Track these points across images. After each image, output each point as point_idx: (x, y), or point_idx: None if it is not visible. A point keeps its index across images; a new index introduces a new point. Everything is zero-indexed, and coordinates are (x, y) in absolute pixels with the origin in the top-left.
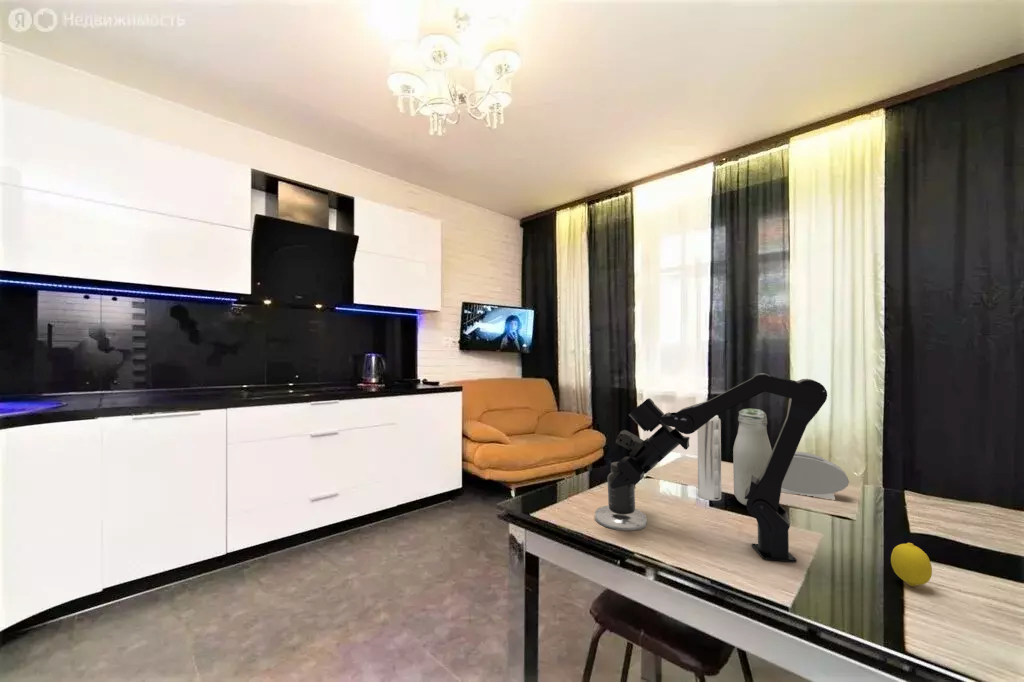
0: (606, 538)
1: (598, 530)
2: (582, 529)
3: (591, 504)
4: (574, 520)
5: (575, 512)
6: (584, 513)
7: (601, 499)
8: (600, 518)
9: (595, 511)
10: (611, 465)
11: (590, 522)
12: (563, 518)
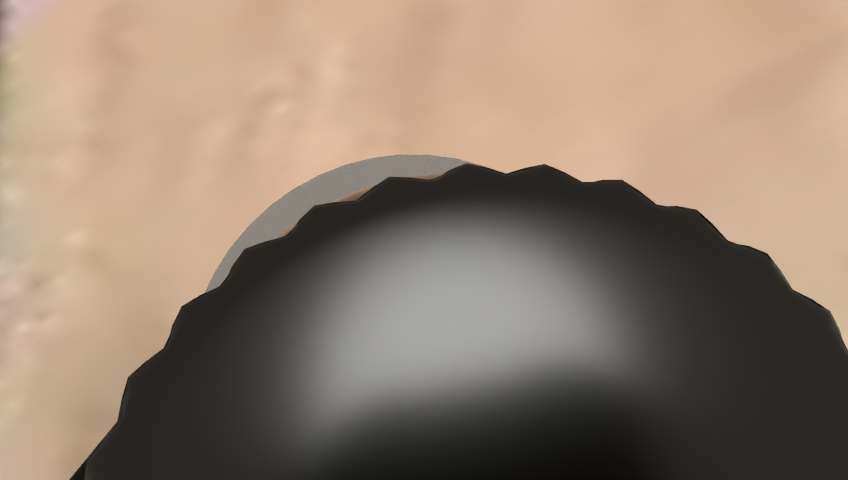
0: (9, 469)
1: (109, 341)
2: (42, 238)
3: (542, 29)
4: (157, 102)
5: (305, 25)
6: (337, 85)
7: (696, 32)
8: (206, 290)
9: (323, 175)
10: (190, 308)
11: (208, 212)
12: (134, 21)
